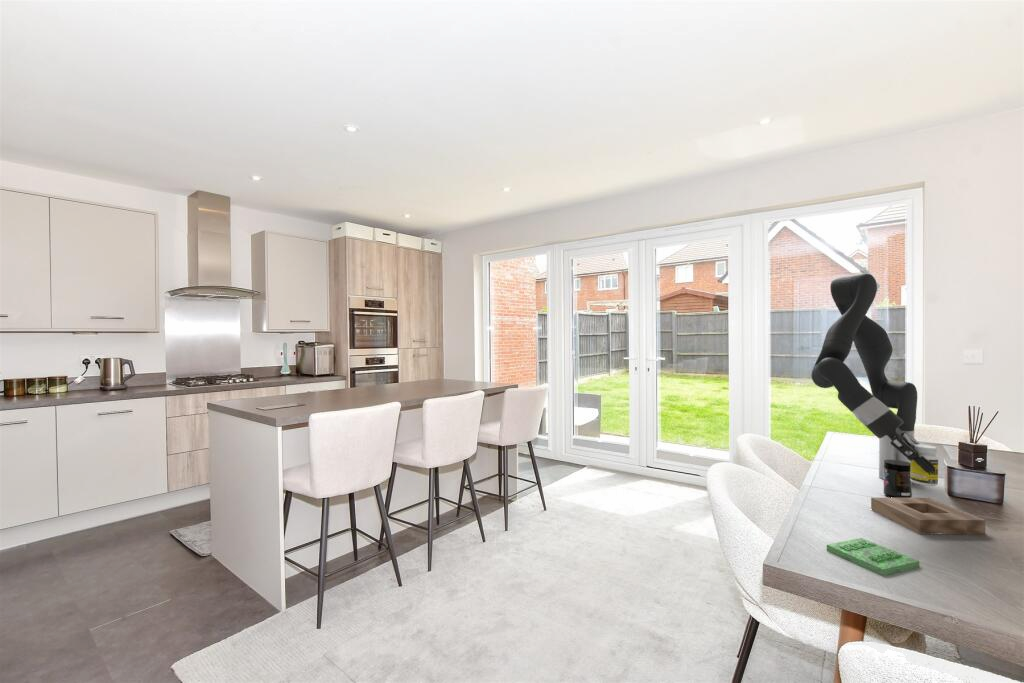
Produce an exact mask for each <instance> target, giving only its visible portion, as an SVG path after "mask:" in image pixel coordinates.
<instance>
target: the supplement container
mask: <svg viewBox="0 0 1024 683" xmlns="http://www.w3.org/2000/svg"><path fill="white" fill-rule="evenodd" d="M910 470H911V463H909V462H905V461H900V460H884V479H883V494H884V496H886V497H888V496H889V497H888V498H890V497H892V498H913V490H912V489H913V483H912V482H911V480H910Z"/></svg>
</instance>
